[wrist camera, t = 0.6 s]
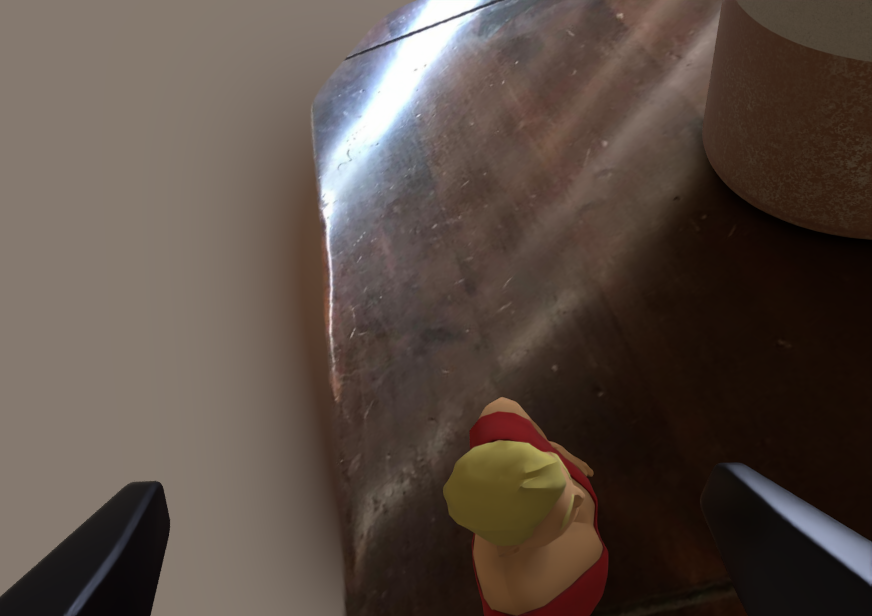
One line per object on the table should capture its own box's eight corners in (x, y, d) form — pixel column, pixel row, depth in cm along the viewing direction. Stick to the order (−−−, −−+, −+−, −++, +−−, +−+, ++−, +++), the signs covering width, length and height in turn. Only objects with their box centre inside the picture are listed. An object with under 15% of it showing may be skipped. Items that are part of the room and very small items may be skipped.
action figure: (640, 718, 19) (676, 813, 7) (540, 719, 20) (418, 808, 8) (589, 457, 24) (560, 259, 12) (511, 466, 25) (412, 288, 13)
